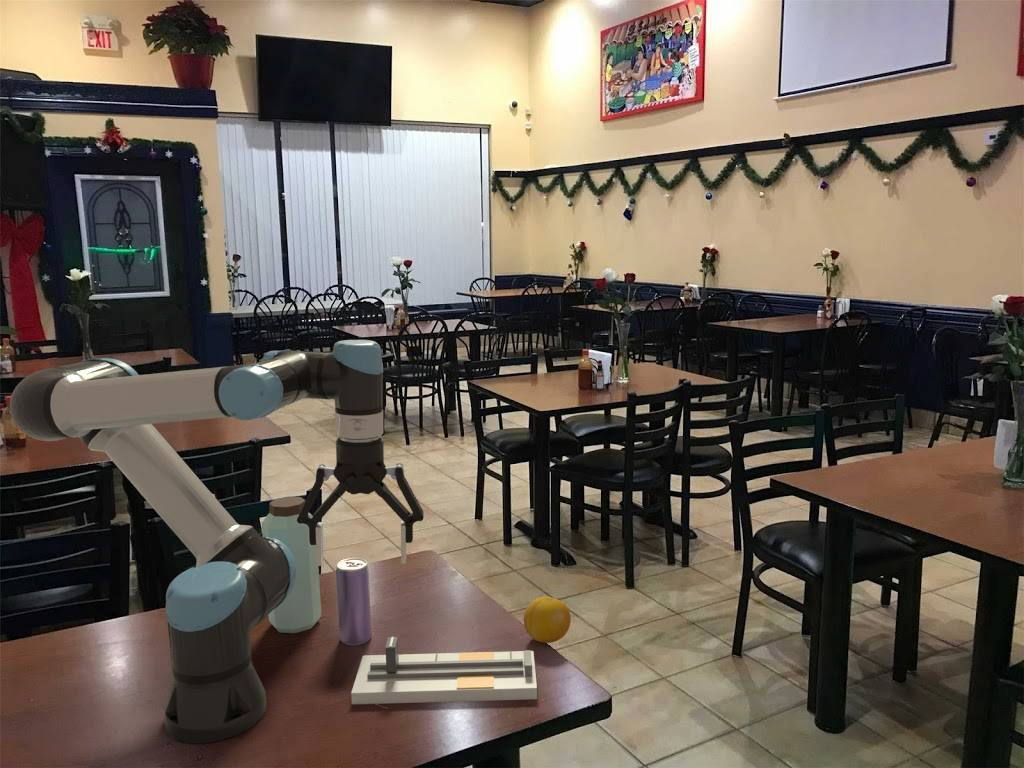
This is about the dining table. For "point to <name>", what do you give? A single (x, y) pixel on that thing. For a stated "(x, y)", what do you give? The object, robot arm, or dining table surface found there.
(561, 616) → the fruit
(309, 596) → the water bottle
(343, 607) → the beverage can
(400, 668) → the console
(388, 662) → the fader
